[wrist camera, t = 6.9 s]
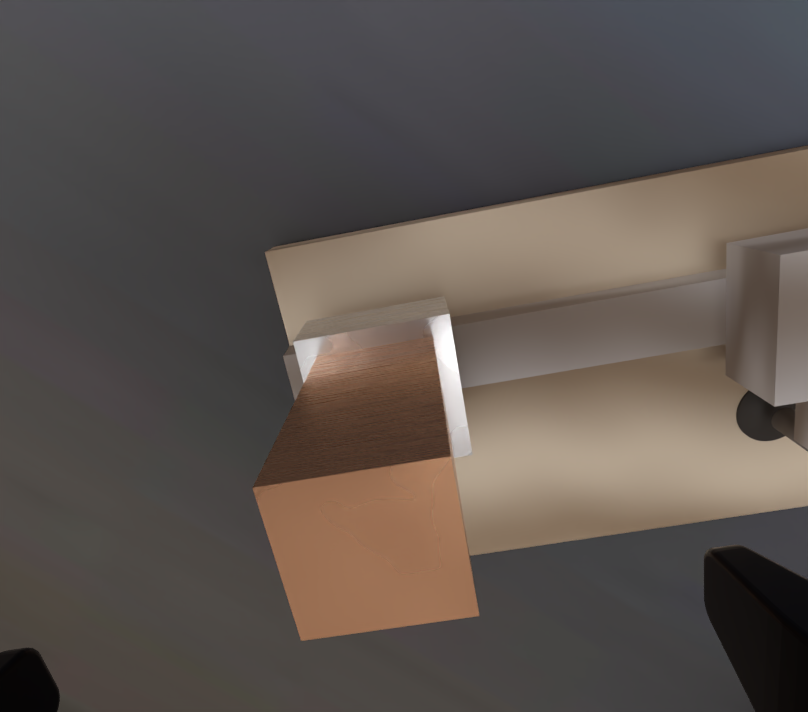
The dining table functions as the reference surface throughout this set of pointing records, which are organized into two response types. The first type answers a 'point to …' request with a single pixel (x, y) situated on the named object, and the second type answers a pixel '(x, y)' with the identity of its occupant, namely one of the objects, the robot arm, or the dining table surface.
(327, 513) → the sliding leg
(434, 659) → the dining table surface
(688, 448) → the wooden base plate
